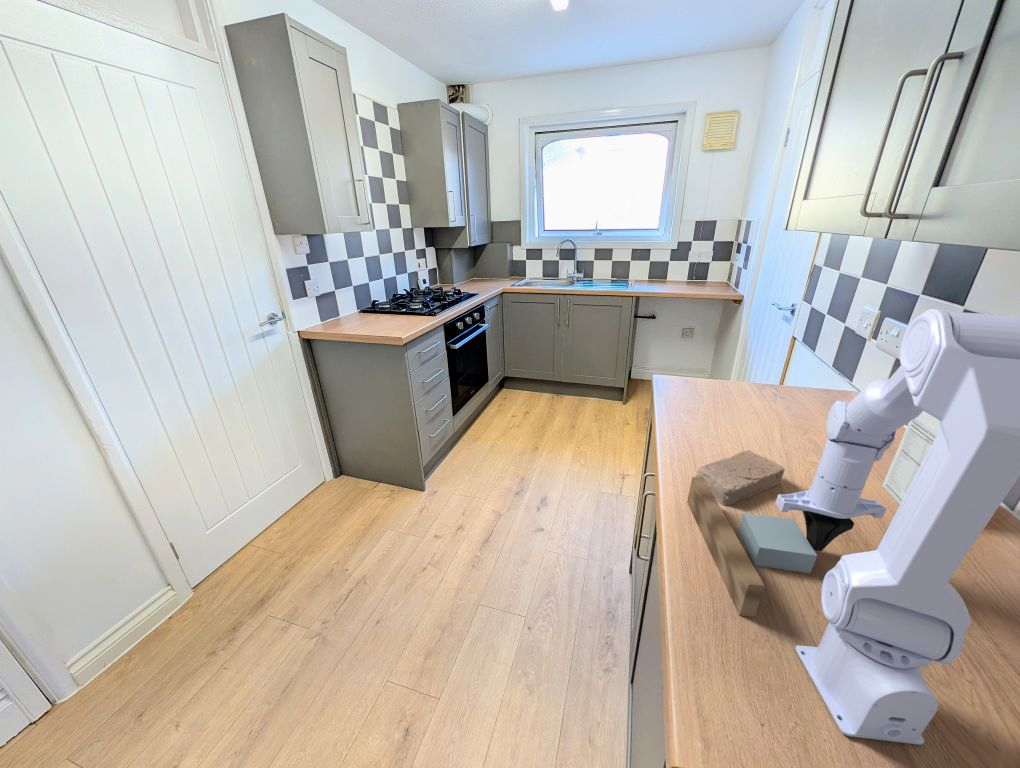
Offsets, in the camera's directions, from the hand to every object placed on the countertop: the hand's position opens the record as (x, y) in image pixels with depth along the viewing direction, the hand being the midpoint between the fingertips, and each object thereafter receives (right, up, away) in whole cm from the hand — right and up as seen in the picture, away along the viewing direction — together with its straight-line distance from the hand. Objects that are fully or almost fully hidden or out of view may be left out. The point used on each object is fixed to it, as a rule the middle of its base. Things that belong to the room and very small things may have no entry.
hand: (813, 546), depth 64 cm
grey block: (-6, -1, +1) cm, 6 cm away
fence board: (-16, -1, +1) cm, 16 cm away
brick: (-3, +5, +18) cm, 19 cm away
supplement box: (+30, +3, +11) cm, 32 cm away
